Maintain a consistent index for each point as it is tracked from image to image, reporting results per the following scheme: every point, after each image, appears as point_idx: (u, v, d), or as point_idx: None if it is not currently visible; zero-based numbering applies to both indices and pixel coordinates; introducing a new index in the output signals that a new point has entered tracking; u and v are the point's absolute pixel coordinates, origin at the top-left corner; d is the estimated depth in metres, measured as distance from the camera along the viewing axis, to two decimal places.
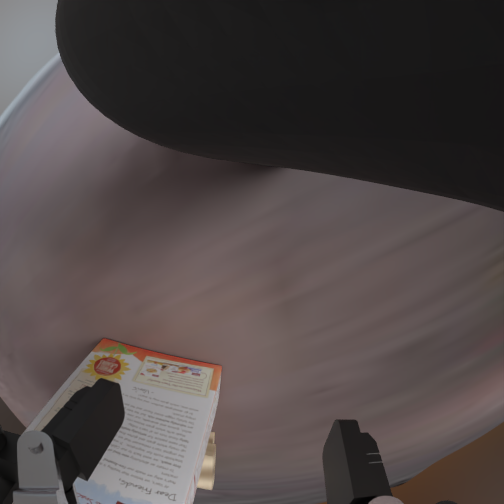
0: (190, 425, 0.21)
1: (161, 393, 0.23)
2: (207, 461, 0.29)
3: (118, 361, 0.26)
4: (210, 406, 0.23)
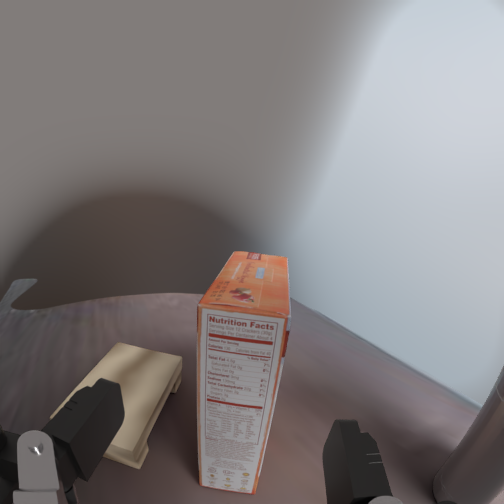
0: None
1: None
2: (120, 442, 0.22)
3: None
4: None
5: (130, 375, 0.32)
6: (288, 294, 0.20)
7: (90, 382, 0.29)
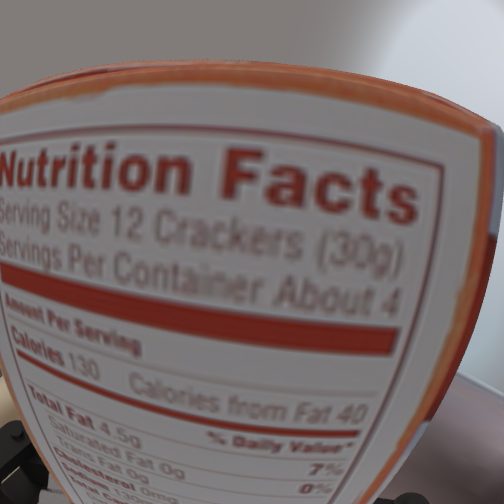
0: None
1: None
2: None
3: None
4: None
5: None
6: None
7: None
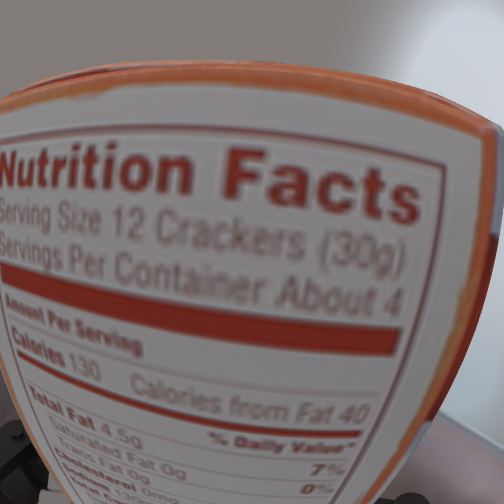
0: None
1: None
2: None
3: None
4: None
5: None
6: None
7: None
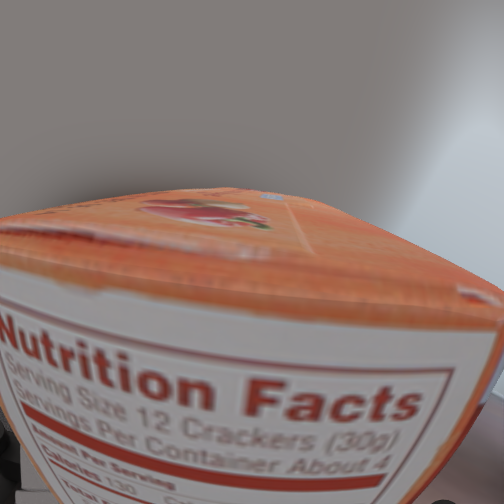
0: None
1: None
2: None
3: None
4: None
5: None
6: (390, 234, 0.05)
7: None
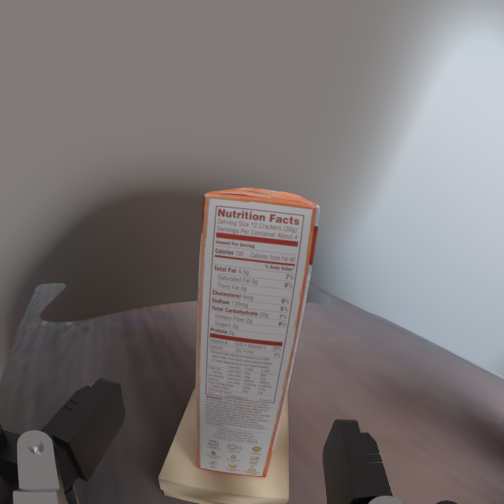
0: None
1: None
2: (269, 491, 0.17)
3: None
4: (277, 432, 0.17)
5: None
6: (309, 201, 0.17)
7: (193, 419, 0.25)
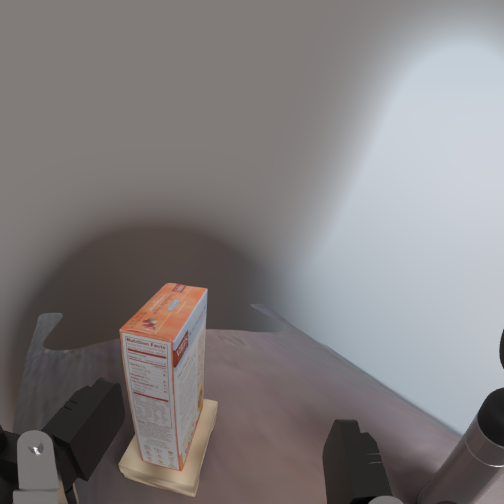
0: (181, 423, 0.28)
1: (189, 420, 0.32)
2: (182, 480, 0.28)
3: (199, 407, 0.38)
4: (179, 444, 0.28)
5: None
6: (184, 324, 0.28)
7: None
